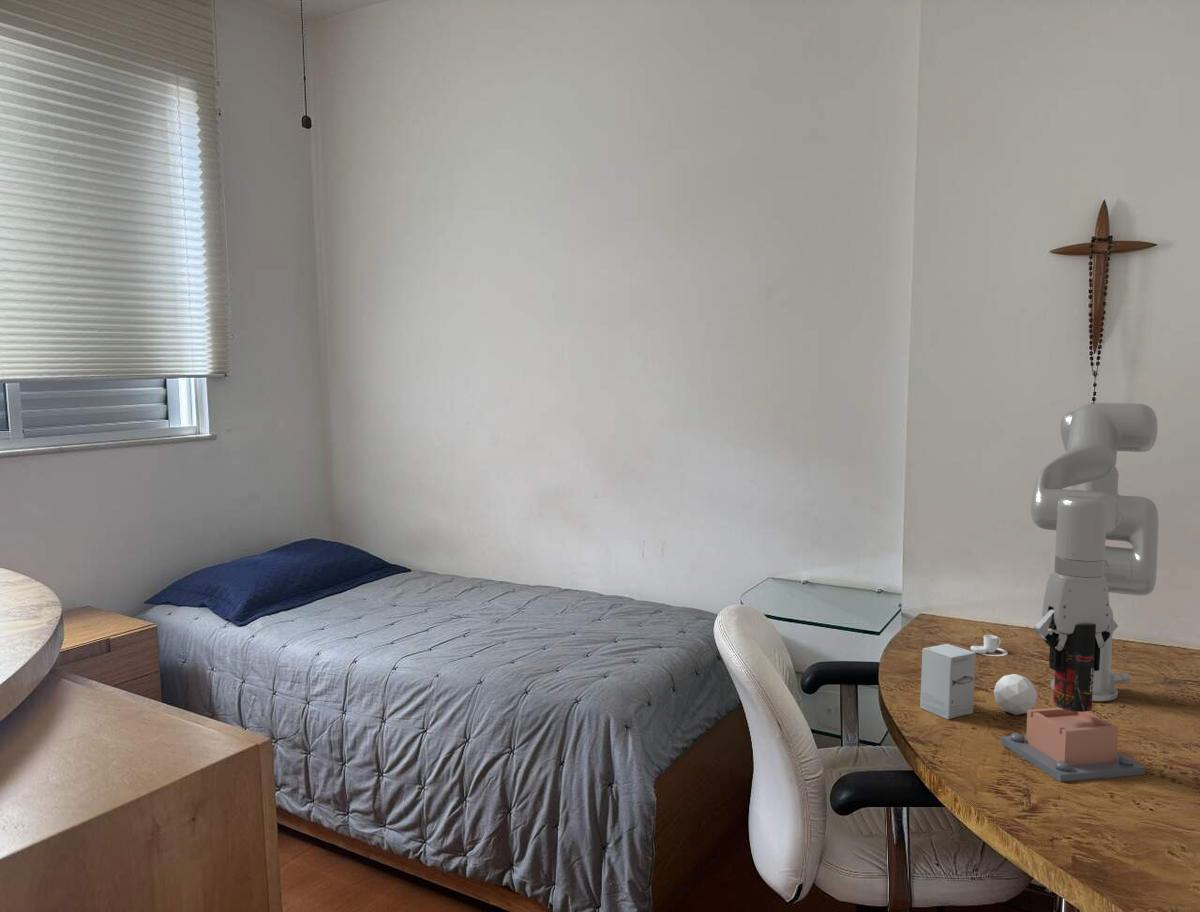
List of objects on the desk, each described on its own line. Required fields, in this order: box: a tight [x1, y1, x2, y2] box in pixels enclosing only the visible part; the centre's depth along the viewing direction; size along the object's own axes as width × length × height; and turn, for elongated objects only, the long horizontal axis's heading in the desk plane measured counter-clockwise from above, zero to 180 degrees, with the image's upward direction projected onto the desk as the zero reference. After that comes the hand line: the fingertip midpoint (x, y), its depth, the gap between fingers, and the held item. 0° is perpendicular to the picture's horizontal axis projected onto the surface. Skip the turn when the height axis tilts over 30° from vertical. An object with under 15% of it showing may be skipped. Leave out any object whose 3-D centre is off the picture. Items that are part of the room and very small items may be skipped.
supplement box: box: [919, 643, 977, 721], centre depth 177 cm, size 7×7×13 cm
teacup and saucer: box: [970, 634, 1009, 657], centre depth 216 cm, size 9×8×4 cm
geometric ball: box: [993, 673, 1038, 716], centre depth 177 cm, size 8×8×8 cm
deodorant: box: [1053, 624, 1096, 712], centre depth 154 cm, size 6×6×15 cm
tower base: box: [1000, 706, 1146, 783], centre depth 155 cm, size 16×16×7 cm
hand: (1074, 668), depth 154 cm, fingers closed on deodorant, 6 cm apart
